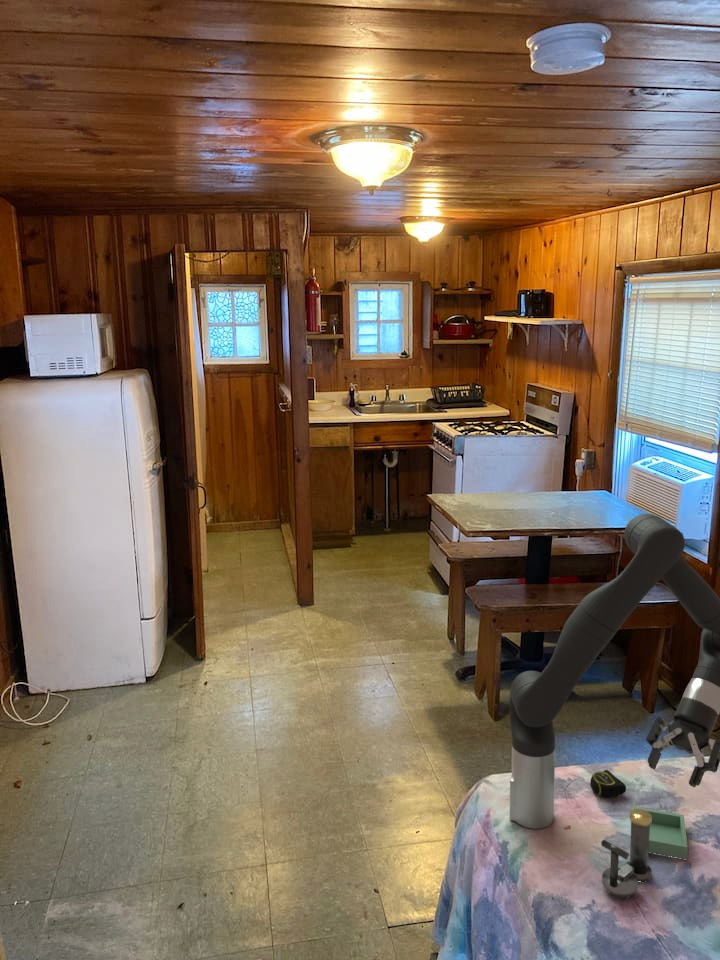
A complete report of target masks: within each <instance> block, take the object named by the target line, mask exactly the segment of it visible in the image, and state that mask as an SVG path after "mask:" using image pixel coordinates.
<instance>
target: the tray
mask: <svg viewBox="0 0 720 960" xmlns="http://www.w3.org/2000/svg"><path fill="white" fill-rule="evenodd" d="M630 808H631V809H630V812H631V811H632V810H634V809H642V810H645V811H647V812H649V813H650V814H651V816H652V824H651V825H650V835H649V852H651V853H656V854H661V855H665V856H670V857H671V856H672V857H677V858H681V859H687V860H688V840H687V839H688V838H687V832H686V830H687V829H686V821H685V816H684V815H685V814H681V813H680V814H679V813H673V812H668V811H663V810H655V809H652V808H651V809H649V808H644V807H639V806H631V807H630Z"/></svg>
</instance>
